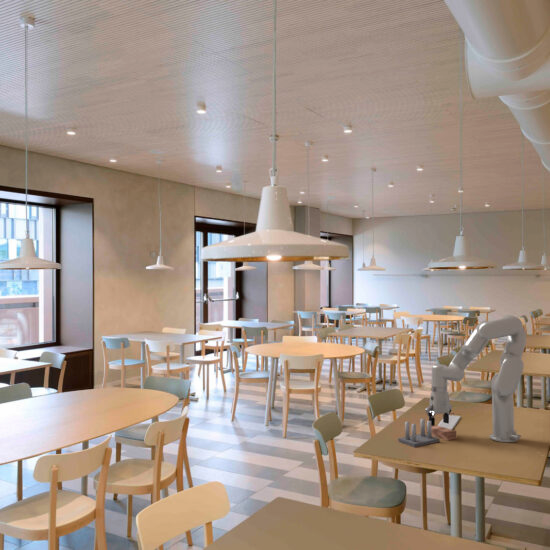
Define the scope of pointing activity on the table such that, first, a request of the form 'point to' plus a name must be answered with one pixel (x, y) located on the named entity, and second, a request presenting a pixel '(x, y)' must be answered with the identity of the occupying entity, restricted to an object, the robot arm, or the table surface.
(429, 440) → the peg stand
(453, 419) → the baseboard
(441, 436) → the pink elongated block
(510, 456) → the table surface
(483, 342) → the robot arm
